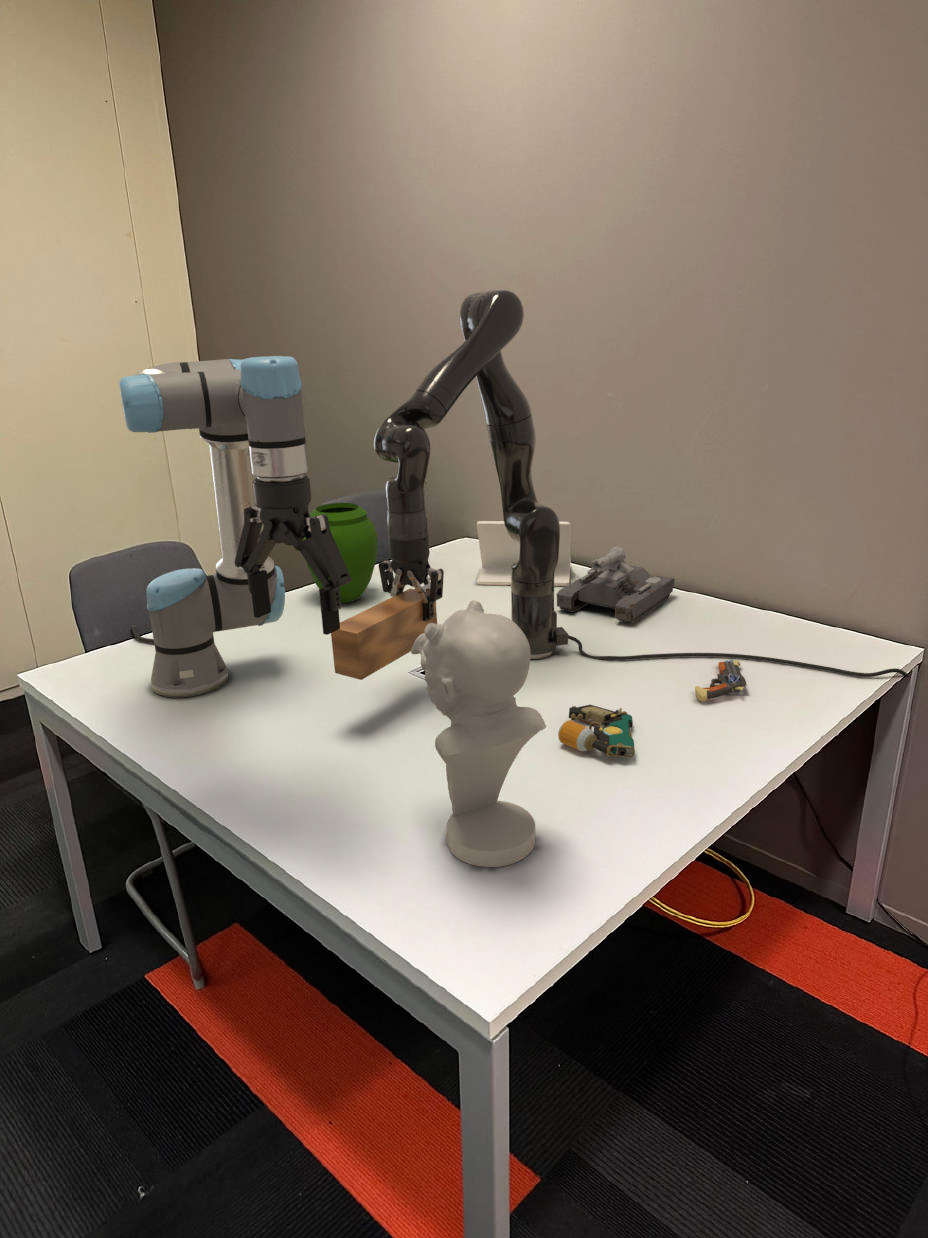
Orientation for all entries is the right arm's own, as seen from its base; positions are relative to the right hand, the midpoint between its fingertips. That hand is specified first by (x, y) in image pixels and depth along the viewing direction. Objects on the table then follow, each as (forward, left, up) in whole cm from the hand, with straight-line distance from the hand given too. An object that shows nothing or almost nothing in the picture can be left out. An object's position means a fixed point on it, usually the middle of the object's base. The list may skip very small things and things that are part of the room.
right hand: (413, 616), depth 164 cm
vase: (+10, -62, -16) cm, 65 cm away
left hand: (+22, +35, +14) cm, 44 cm away
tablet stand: (-41, -68, -16) cm, 81 cm away
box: (+6, +6, -5) cm, 9 cm away
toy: (-56, -38, -16) cm, 70 cm away
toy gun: (-59, +11, -16) cm, 62 cm away
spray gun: (-29, +26, -16) cm, 42 cm away
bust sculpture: (0, +49, -16) cm, 51 cm away
